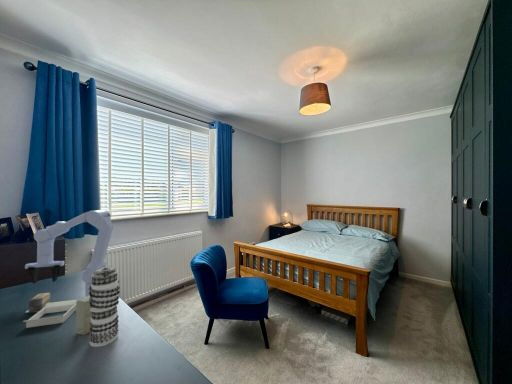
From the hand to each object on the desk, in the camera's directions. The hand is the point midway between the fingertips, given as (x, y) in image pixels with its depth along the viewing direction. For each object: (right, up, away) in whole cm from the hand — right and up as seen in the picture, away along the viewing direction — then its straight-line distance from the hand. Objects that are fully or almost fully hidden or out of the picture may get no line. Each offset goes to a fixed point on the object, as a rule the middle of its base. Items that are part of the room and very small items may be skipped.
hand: (45, 281), depth 105 cm
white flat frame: (+17, -9, -14) cm, 24 cm away
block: (+4, -9, -7) cm, 12 cm away
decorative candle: (+48, -9, -27) cm, 56 cm away
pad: (+4, -9, -6) cm, 12 cm away
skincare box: (+38, -9, -22) cm, 45 cm away
